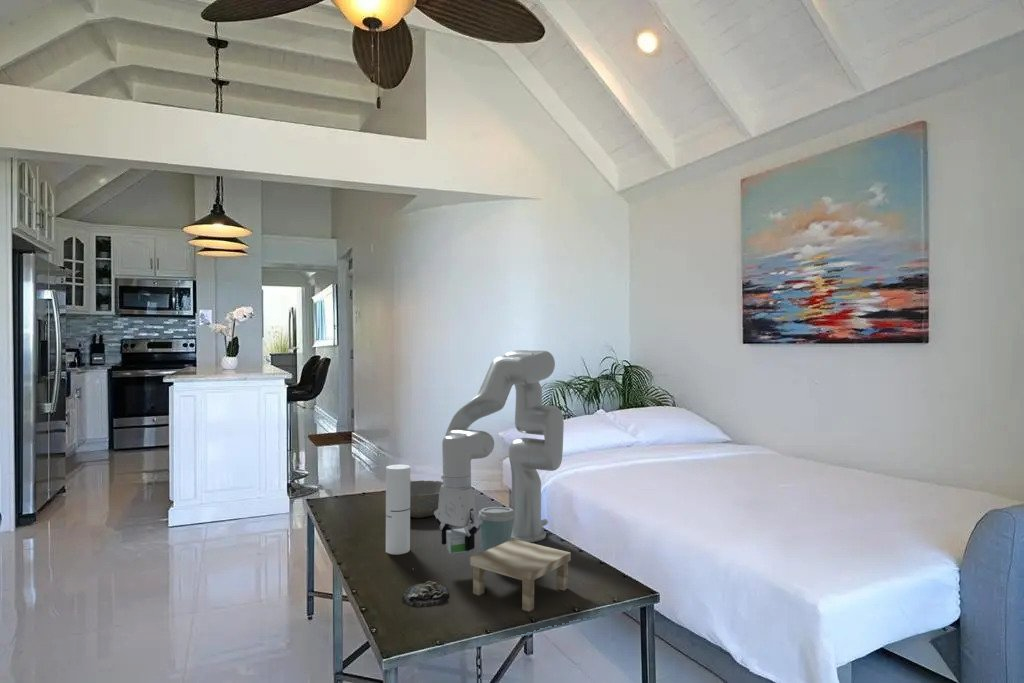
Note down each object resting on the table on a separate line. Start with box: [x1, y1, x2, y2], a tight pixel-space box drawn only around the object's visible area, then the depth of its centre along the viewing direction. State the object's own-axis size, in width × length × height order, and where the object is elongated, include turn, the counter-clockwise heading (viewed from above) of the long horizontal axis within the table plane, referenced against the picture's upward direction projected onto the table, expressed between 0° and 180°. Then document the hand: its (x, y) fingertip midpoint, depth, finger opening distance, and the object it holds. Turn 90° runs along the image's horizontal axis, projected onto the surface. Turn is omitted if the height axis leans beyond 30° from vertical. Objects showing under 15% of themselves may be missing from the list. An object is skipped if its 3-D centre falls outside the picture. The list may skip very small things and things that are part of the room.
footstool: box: [469, 539, 572, 612], centre depth 151 cm, size 18×18×9 cm
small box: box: [445, 527, 471, 555], centre depth 162 cm, size 6×6×5 cm
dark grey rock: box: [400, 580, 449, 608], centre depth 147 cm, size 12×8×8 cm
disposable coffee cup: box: [477, 506, 515, 552], centre depth 172 cm, size 11×11×15 cm
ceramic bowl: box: [410, 480, 443, 519], centre depth 220 cm, size 22×23×10 cm
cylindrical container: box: [385, 464, 411, 556], centre depth 181 cm, size 7×7×25 cm
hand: (458, 546), depth 162 cm, fingers closed on small box, 7 cm apart
